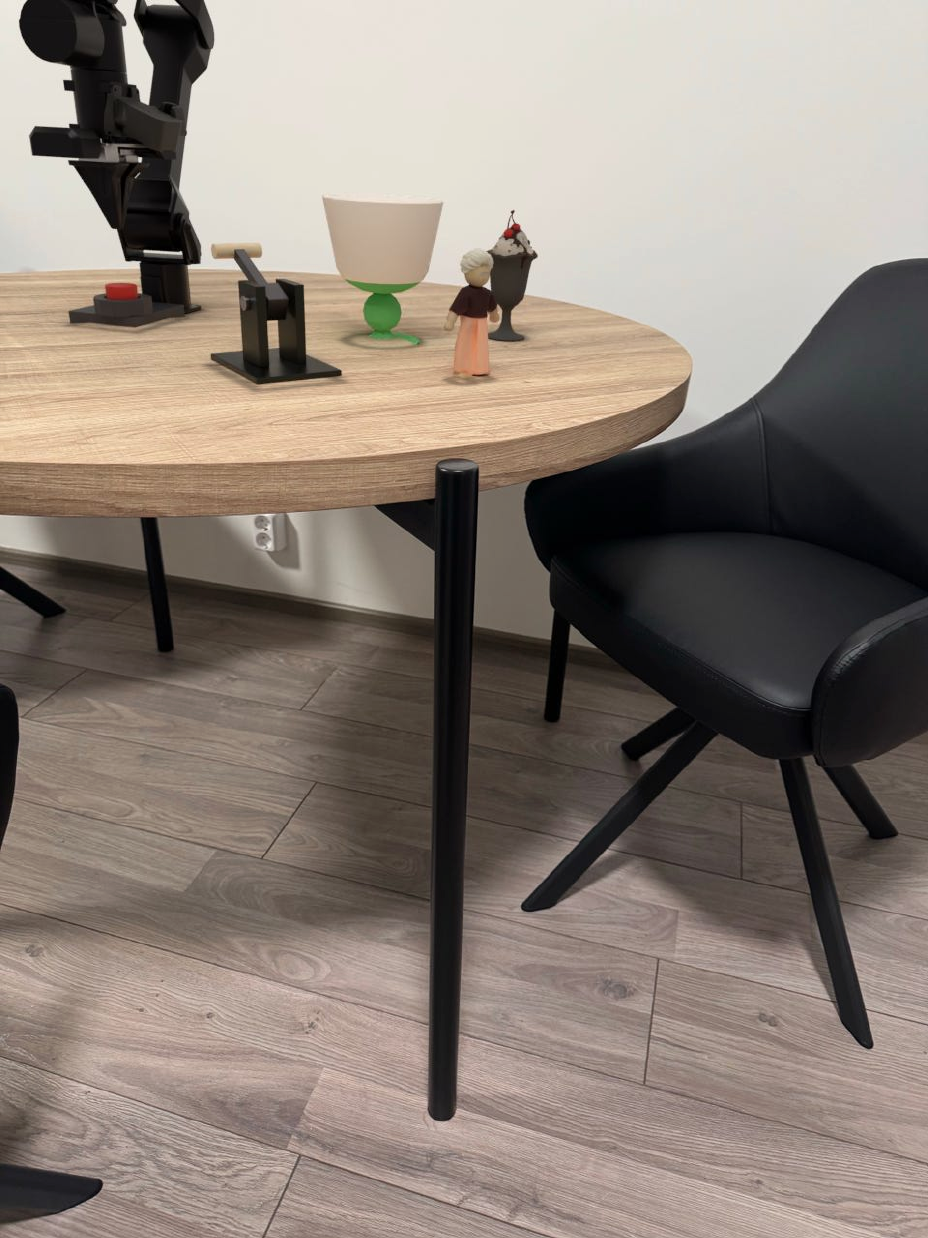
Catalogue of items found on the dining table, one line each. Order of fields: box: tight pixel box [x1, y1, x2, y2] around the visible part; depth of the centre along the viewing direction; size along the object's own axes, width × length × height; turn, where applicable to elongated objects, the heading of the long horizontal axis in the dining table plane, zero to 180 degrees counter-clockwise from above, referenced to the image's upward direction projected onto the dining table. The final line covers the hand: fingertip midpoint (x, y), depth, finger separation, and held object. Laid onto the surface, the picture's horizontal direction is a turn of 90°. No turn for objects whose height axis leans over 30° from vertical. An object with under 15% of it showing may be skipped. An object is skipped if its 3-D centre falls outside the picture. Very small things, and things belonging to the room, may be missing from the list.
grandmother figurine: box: [443, 247, 501, 379], centre depth 92 cm, size 8×4×13 cm, turn 148°
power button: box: [104, 282, 139, 300], centre depth 109 cm, size 4×4×2 cm
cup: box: [321, 192, 444, 345], centre depth 106 cm, size 14×14×16 cm
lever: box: [210, 242, 289, 322], centre depth 92 cm, size 11×5×2 cm, turn 34°
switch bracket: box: [210, 278, 343, 386], centre depth 91 cm, size 12×9×9 cm
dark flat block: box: [67, 292, 186, 328], centre depth 112 cm, size 12×9×4 cm
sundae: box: [485, 209, 539, 342], centre depth 112 cm, size 7×7×15 cm
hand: (117, 228), depth 105 cm, fingers closed
